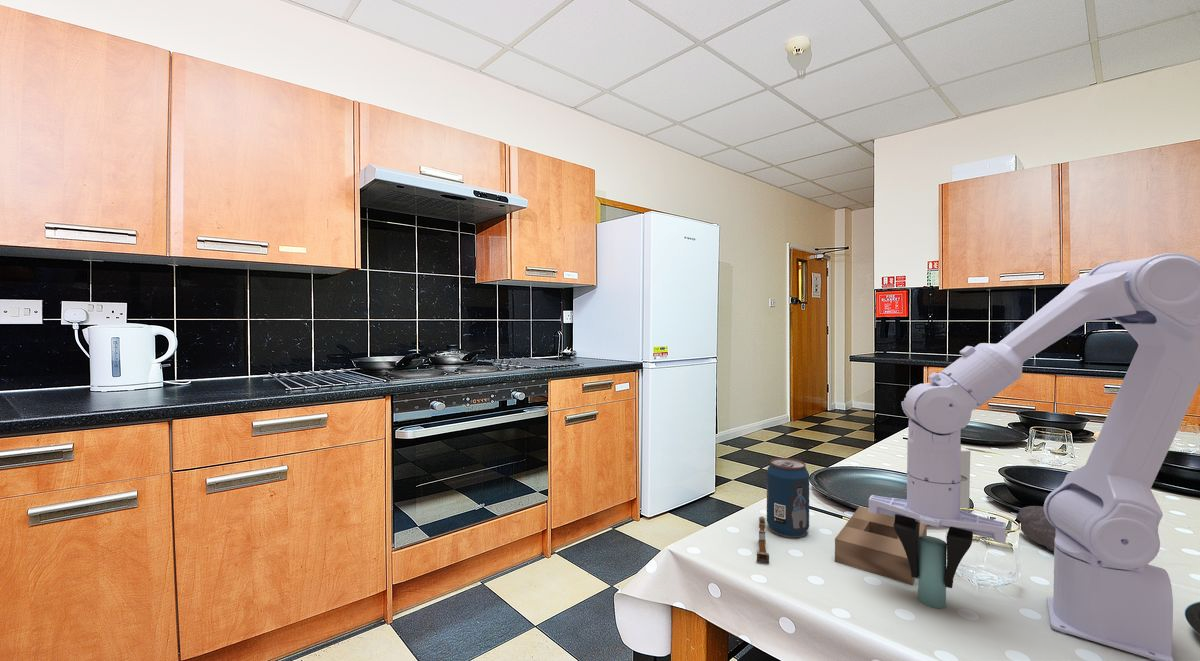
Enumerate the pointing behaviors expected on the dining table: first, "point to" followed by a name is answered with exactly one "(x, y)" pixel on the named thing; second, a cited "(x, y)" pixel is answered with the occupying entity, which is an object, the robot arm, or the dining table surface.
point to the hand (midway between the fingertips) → (931, 579)
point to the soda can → (788, 497)
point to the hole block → (874, 545)
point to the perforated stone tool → (1037, 526)
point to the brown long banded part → (762, 542)
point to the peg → (932, 571)
